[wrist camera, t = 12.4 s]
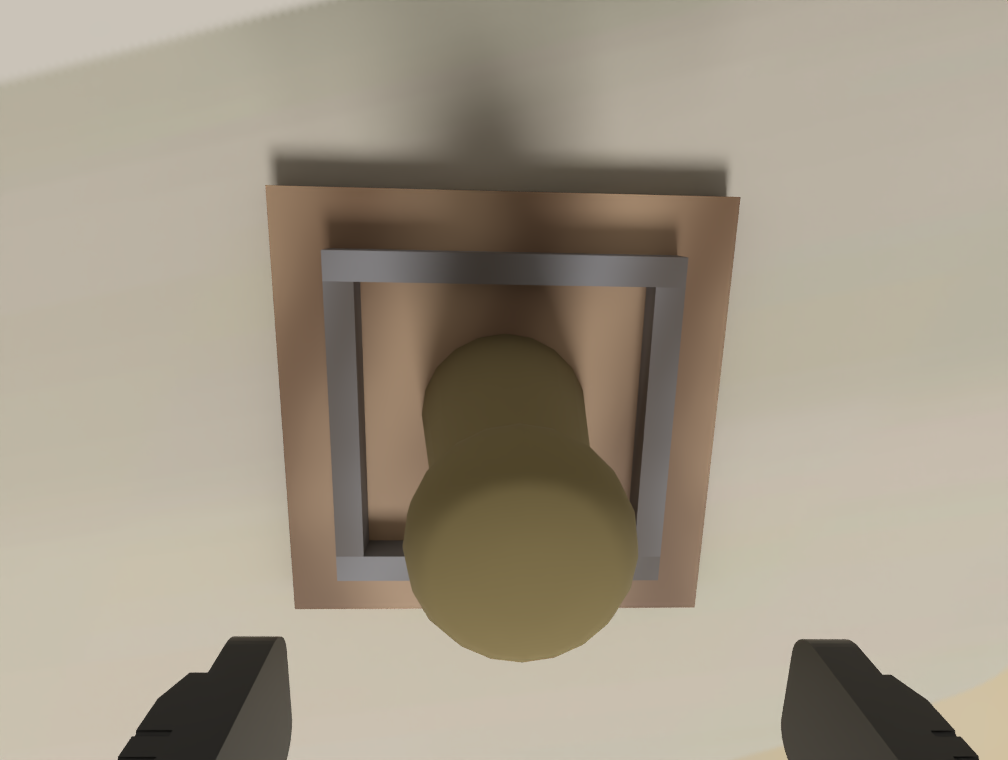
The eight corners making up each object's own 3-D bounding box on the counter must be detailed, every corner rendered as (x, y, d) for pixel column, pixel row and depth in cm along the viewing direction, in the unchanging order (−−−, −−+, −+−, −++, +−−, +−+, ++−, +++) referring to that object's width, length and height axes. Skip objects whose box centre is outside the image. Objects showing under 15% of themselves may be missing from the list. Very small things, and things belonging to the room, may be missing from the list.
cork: (401, 464, 23) (336, 670, 13) (450, 311, 22) (423, 398, 11) (553, 509, 24) (612, 740, 13) (609, 363, 23) (725, 492, 12)
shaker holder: (726, 198, 23) (755, 196, 20) (684, 590, 26) (704, 625, 24) (276, 186, 22) (252, 183, 19) (303, 591, 26) (285, 628, 23)
